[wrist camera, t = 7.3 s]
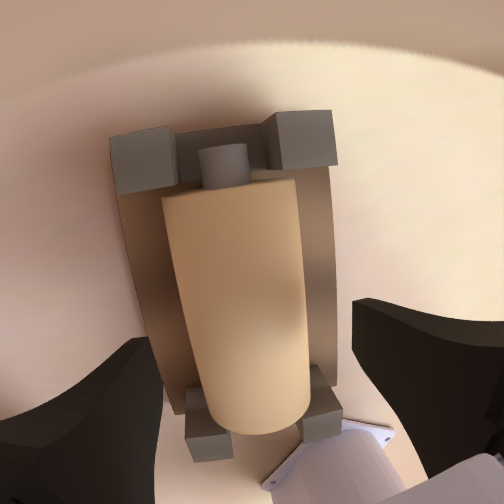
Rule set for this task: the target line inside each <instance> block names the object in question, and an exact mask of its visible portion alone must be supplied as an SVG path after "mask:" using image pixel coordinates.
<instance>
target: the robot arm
mask: <svg viewBox="0 0 504 504" xmlns="http://www.w3.org/2000/svg"><path fill="white" fill-rule="evenodd" d="M352 351H353V353H354V355H355V356H356V358H357V360H358V362H359V364H360V366H361V368H362V369H363V371H364V372H365V373H366V375H367V376H368V377H369V379H370V380H371V381H372V383H373V384H374V385H375V387H376V388H377V389H378V391H379V392H380V393H381V394H382V396H383V397H384V398H385V400H386V401H387V402H388V404H389V405H390V406H391V408H392V409H393V410H394V412H395V413H396V415H397V416H398V418H399V420H400V422H401V423H402V425H403V427H404V429H405V430H406V432H407V434H408V436H409V438H410V440H411V442H412V444H413V446H414V448H415V450H416V452H417V454H418V456H419V458H420V461H421V463H422V465H423V467H424V470H425V472H426V474H427V477H428V480H426V481H424V482H422V483H420V484H418V485H416V486H414V487H412V488H410V489H407V487H406V485H405V484H404V482H403V481H402V479H401V477H400V476H399V474H398V473H397V471H396V469H395V468H394V466H393V465H392V463H391V461H390V460H389V458H388V457H387V455H386V453H385V452H384V450H383V448H384V447H385V445H386V444H387V443H388V442H389V441H390V440H391V439H392V438H393V437H394V436H395V434H396V431H395V429H393V428H387V427H381V426H376V425H371V424H365V423H360V422H356V421H351V420H346V419H342V428H341V434H340V435H337V436H333V437H330V438H326V439H323V440H319V441H315V442H311V443H307V444H304V443H303V442H302V443H301V444H300V445H299V446H298V447H297V448H296V449H295V451H294V452H293V453H292V454H291V455H290V456H289V457H288V458H287V459H286V460H285V461H284V462H283V463H282V464H281V465H280V466H279V467H278V468H277V469H276V470H275V471H274V472H273V473H272V474H271V475H270V476H269V477H268V478H267V479H266V480H265V481H264V482H263V483H262V484H261V489H262V490H263V491H270V492H271V496H272V500H273V504H504V321H471V320H461V319H454V318H447V317H442V316H437V315H433V314H428V313H424V312H420V311H416V310H413V309H409V308H406V307H402V306H399V305H395V304H392V303H388V302H385V301H381V300H377V299H372V298H364V299H360V300H356V301H352ZM162 408H163V382H162V379H161V376H160V373H159V370H158V367H157V363H156V360H155V357H154V354H153V351H152V347H151V344H150V341H149V337H139V338H132V339H130V340H129V341H127V342H126V343H125V344H124V345H122V346H121V347H120V348H119V349H118V350H117V351H116V352H115V353H113V354H112V355H111V356H110V357H109V358H108V359H107V360H105V361H104V362H103V363H102V364H101V365H100V366H99V367H97V368H96V369H95V370H94V371H92V372H91V373H90V374H89V375H87V376H86V377H85V378H84V379H83V380H81V381H80V382H79V383H77V384H76V385H74V386H73V387H71V388H70V389H68V390H67V391H65V392H64V393H62V394H60V395H59V396H57V397H55V398H53V399H52V400H50V401H48V402H46V403H44V404H42V405H40V406H38V407H36V408H34V409H32V410H29V411H27V412H24V413H22V414H19V415H16V416H14V417H11V418H8V419H5V420H1V421H0V504H155V497H154V463H155V453H156V447H157V440H158V434H159V428H160V421H161V415H162Z"/></svg>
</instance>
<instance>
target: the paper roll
mask: <svg viewBox="0 0 504 504" xmlns="http://www.w3.org/2000/svg"><path fill="white" fill-rule="evenodd" d="M198 152H199V160H200V167H201V174H202V181H203V187H201V188H196V189H191V190H186V191H181V192H177V193H173V194H169V195H166V196H163V197H161V199H162V205H163V211H164V217H165V223H166V229H167V234H168V240H169V245H170V250H171V255H172V260H173V265H174V270H175V275H176V280H177V285H178V289H179V294H180V299H181V303H182V308H183V312H184V316H185V321H186V325H187V329H188V333H189V337H190V341H191V345H192V349H193V353H194V357H195V361H196V365H197V369H198V372H199V376H200V380H201V384H202V387H203V391H204V394H205V398H206V401H207V405H208V408H209V412H210V414H211V416H212V418H213V419H214V420H215V422H217V423H218V424H219V425H220V426H222V427H223V428H225V429H227V430H229V431H232V432H235V433H239V434H245V435H262V434H268V433H273V432H276V431H279V430H282V429H284V428H286V427H288V426H290V425H292V424H293V423H295V422H296V421H297V420H299V419H300V418H301V417H302V416H303V414H304V413H305V412H306V410H307V408H308V406H309V404H310V398H311V396H310V369H309V348H308V329H307V313H306V298H305V284H304V271H303V258H302V247H301V236H300V225H299V215H298V205H297V195H296V186H295V179H294V178H273V179H260V180H251V175H250V167H249V159H248V151H247V144H230V145H222V146H216V147H210V148H205V149H201V150H198Z"/></svg>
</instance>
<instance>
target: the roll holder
mask: <svg viewBox="0 0 504 504" xmlns="http://www.w3.org/2000/svg"><path fill="white" fill-rule="evenodd" d="M109 141H110V150H111V151H110V155H111V163H112V170H113V177H114V184H115V190H116V197H117V203H118V208H119V214H120V219H121V225H122V230H123V235H124V240H125V245H126V249H127V254H128V259H129V263H130V268H131V272H132V276H133V280H134V284H135V288H136V292H137V296H138V300H139V304H140V308H141V312H142V315H143V319H144V322H145V326H146V329H147V333H148V336H149V340H150V343H151V346H152V350H153V353H154V356H155V359H156V362H157V365H158V368H159V372H160V375H161V378H162V380H163V383H164V386H165V389H166V392H167V395H168V398H169V400H170V403H171V406H172V409H173V411H174V414H175V415H181V414H185V441H186V443H187V446H188V448H189V450H190V453H191V455H192V457H193V460H194V462H195V463H196V462H206V461H215V460H223V459H230V458H234V457H233V449H232V442H231V435H230V431H229V430H227V429H225V428H223V427H222V426H220V425H219V424H218V423H217V422H215V420H214V419H213V418H212V416H211V414H210V412H209V408H208V405H207V401H206V398H205V394H204V391H203V387H202V384H201V380H200V376H199V372H198V369H197V365H196V361H195V357H194V353H193V349H192V345H191V341H190V337H189V333H188V329H187V325H186V321H185V316H184V312H183V308H182V303H181V299H180V294H179V289H178V285H177V280H176V275H175V270H174V265H173V260H172V255H171V250H170V245H169V240H168V234H167V229H166V223H165V217H164V211H163V205H162V199H161V197H163V196H166V195H169V194H173V193H177V192H181V191H186V190H191V189H196V188H201V187H203V181H202V174H201V167H200V160H199V152H198V150H201V149H205V148H210V147H216V146H222V145H230V144H247V151H248V159H249V167H250V175H251V180H260V179H273V178H294V179H295V186H296V195H297V205H298V215H299V225H300V236H301V247H302V258H303V271H304V284H305V298H306V313H307V329H308V348H309V369H310V396H311V398H310V404H309V406H308V408H307V410H306V412H305V413H304V414H303V416H302V417H301V418H300V419H299V420H297V421H296V424H297V427H298V430H299V432H300V435H301V438H302V440H303V443H304V444H307V443H311V442H315V441H319V440H323V439H326V438H330V437H333V436H337V435H340V434H341V428H342V414H343V408H342V406H341V404H340V403H339V401H338V399H337V398H336V396H335V394H334V392H333V391H332V389H331V387H333V386H337V288H336V262H335V243H334V227H333V213H332V200H331V188H330V178H329V168H328V166H334V165H338V160H337V151H336V142H335V134H334V126H333V118H332V111H331V110H306V111H287V112H275V113H274V114H273V115H272V116H270V117H269V118H268V119H267V120H265V121H264V122H263V123H262V124H252V125H242V126H234V127H225V128H217V129H210V130H203V131H196V132H190V133H183V134H177V135H175V134H174V133H173V132H172V131H171V130H170V129H169V128H168V127H167V126H163V127H158V128H152V129H147V130H142V131H138V132H133V133H128V134H124V135H119V136H115V137H111V138H109Z"/></svg>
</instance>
